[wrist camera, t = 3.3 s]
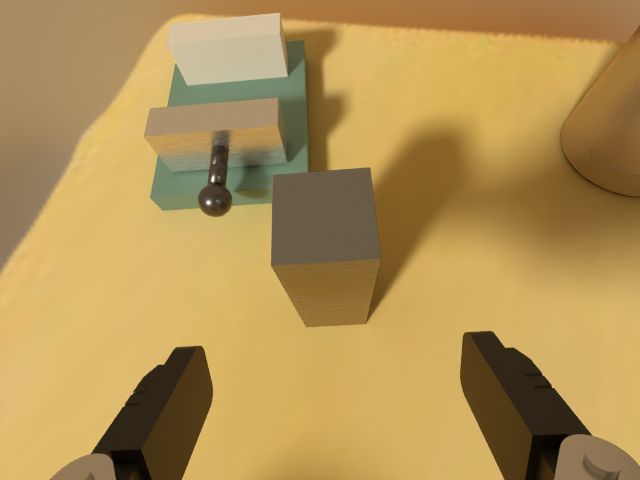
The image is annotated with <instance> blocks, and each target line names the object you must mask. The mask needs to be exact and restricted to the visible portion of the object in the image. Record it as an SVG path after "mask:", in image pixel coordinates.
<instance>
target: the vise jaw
mask: <svg viewBox="0 0 640 480" xmlns="http://www.w3.org/2000/svg"><path fill="white" fill-rule="evenodd" d="M144 137H145V139H146V140H147V141H148V142H149V144H150V145H151V146H152V148H153V149H154V150H155V152H156V153H157V154H158V155H159V157H160V158H161V159H162V161H163V162H164V163H165V164H166V166H167V167H168V168H169V170H170V171H171V172H177V171H190V170H203V169H209V176H208V185H206V186H205V187H203V188H202V190H201V191H200V193H199V195H198V204H199V207H200V209H201V210H202V211H203V212H204V213H205V214H207V215H209V216H212V217H219V216H222V215H224V214H226V213H227V212H228V211H229V210H230V208H231V206H232V195H231V193H230V191H229V190H228V189H227V188H226V180H227V168H229V167H242V166H255V165H268V164H281V163H287V134H286V130H285V125H284V121H283V117H282V112H281V108H280V104H279V99H278V97H277V98H265V99H254V100H242V101H231V102H219V103H208V104H196V105H184V106H173V107H161V108H150V111H149V116H148V120H147V125H146V130H145V134H144Z"/></svg>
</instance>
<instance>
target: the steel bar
mask: <svg viewBox="0 0 640 480" xmlns="http://www.w3.org/2000/svg"><path fill="white" fill-rule="evenodd" d="M380 262H381V254H380V245H379V237H378V229H377V220H376V212H375V204H374V195H373V187H372V179H371V170H370V168H357V169H344V170H330V171H317V172H304V173H291V174H277V175H273V198H272V249H271V266H272V268H273V270H274V272H275V273H276V275H277V277H278V279H279V280H280V282H281V284H282V286H283V287H284V289H285V291H286V293H287V294H288V296H289V298H290V300H291V301H292V303H293V305H294V307H295V308H296V310H297V312H298V313H299V315H300V317H301V319H302V320H303V322H304V324H305V326H306V327H318V326H337V325H355V324H366V321H367V316H368V312H369V308H370V304H371V300H372V295H373V291H374V287H375V283H376V278H377V274H378V270H379V266H380Z"/></svg>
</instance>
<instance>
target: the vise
mask: <svg viewBox="0 0 640 480" xmlns="http://www.w3.org/2000/svg"><path fill="white" fill-rule="evenodd" d="M166 45H167V47H168V48H169V50H170V52H171V54H172V56H173V58H174V60H175V62H176V63H175V68H174V74H173V79H172V84H171V90H170V95H169V100H168V106H167V107H173V106H184V105H196V104H208V103H219V102H231V101H242V100H254V99H265V98H277V97H278V99H279V104H280V108H281V112H282V117H283V121H284V125H285V130H286V134H287V163H281V164H268V165H255V166H242V167H229V168H227V180H226V188H227V189H228V190H229V191H230V193H231V195H232V206H234V205H248V204H262V203H272V198H273V175H277V174H291V173H304V172H310V166H309V136H308V105H307V75H306V55H305V47H304V41H294V42H285V39H284V33H283V27H282V22H281V16H280V13H274V14H264V15H253V16H243V17H233V18H223V19H213V20H202V21H192V22H182V23H172V24H171V25H170V30H169V34H168V39H167V44H166ZM208 176H209V169H203V170H190V171H177V172H171V171H170V170H169V168H168V167H167V166H166V164H165V163H164V162H163V161H162V159H161V158H160V157H159V155H158V159H157V164H156V170H155V175H154V180H153V186H152V191H151V196H150V198H151V199H152V200H153V201H154V202H155V203H156V204H157V205H158V206H159V207H160V208H161V209H162V210H163V211H164V210H178V209H192V208H200V207H199V204H198V195H199V193H200V191H201V190H202V188H203V187H205V186H206V185H208Z"/></svg>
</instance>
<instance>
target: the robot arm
mask: <svg viewBox="0 0 640 480" xmlns="http://www.w3.org/2000/svg"><path fill="white" fill-rule="evenodd" d="M561 144H562V149H563V151H564V153H565V155H566V157H567V159H568V160H569V162H570V163H571V164H572V166H573V167H574V168H575V169H576V170H577V171H578V172H579V173H580V174H582V175H583V176H584V177H585V178H587V179H588V180H590V181H591V182H593V183H594V184H596V185H598V186H600V187H602V188H605V189H607V190H609V191H612V192H615V193H619V194H622V195H628V196H635V197H640V26H639V27H638V29H637V30H636V31H635V33H634V34H633V35H632V36H631V38H630V39H629V40H628V42H627V43H626V44H625V45H624V47H623V48H622V49H621V50H620V52H619V53H618V54H617V56H616V57H615V58H614V59H613V61H612V62H611V63H610V65H609V66H608V67H607V68H606V70H605V71H604V72H603V73H602V75H601V76H600V77H599V78H598V80H597V81H596V82H595V83H594V85H593V86H592V87H591V89H590V90H589V91H588V92H587V94H586V95H585V96H584V98H583V99H582V100H581V101H580V103H579V104H578V105H577V107H576V108H575V109H574V110H573V112H572V113H571V114H570V116H569V117H568V118H567V119H566V121H565V122H564V125H563V127H562V129H561ZM460 379H461V385H462V389H463V393H464V395H465V397H466V400H467V402H468V404H469V406H470V408H471V410H472V412H473V414H474V416H475V419H476V421H477V423H478V425H479V427H480V429H481V431H482V433H483V435H484V437H485V440H486V442H487V444H488V446H489V448H490V450H491V452H492V454H493V456H494V458H495V461H496V463H497V465H498V467H499V469H500V471H501V473H502V475H503V477H504V479H505V480H640V466H639V465H638V464H637V462H636V461H635V460H634V459H633V458H632V457H631V456H630V455H628V454H627V453H626V452H625V451H623V450H622V449H620V448H619V447H617V446H616V445H614V444H612V443H610V442H608V441H606V440H603V439H601V438H598V437H594V436H592V435H591V433H590V432H589V431H588V430H587V428H586V427H585V426H584V425H583V423H582V422H581V421H580V420H579V419H578V417H577V416H576V415H575V414H574V412H573V411H572V410H571V409H570V407H569V406H568V405H567V404H566V402H565V401H564V400H563V399H562V397H561V396H560V395H559V394H558V393H557V391H556V390H555V389H554V388H552V385H551V384H550V383H549V381H548V380H547V379H546V378H545V376H542V373H541V371H540V370H539V369H538V368H537V367H536V365H535V364H534V363H533V362H532V360H531V359H530V358H528V357H527V356H525V355H524V354H522V353H521V352H519V351H518V350H516V349H515V348H505V347H504V346H503V344H502V343H501V342H500V340H499V339H498V338H497V336H496V335H495V334H494V333H493V332H492V331H481V332H465V333H464V335H463V342H462V356H461V369H460ZM212 397H213V386H212V381H211V377H210V372H209V368H208V364H207V360H206V355H205V351H204V349H203V347H202V346H189V347H176V348H175V349H174V350H173V352H172V353H171V355H170V356H169V358H168V359H167V361H166V363H165V364H164V365H158V366H156V367H155V368H154V369H153V370H152V371H150V372H149V373H148V374H147V375H146V376H144V377H143V379H142V380H141V381H140V383H139V384H138V386H137V387H136V389H135V390H134V392H133V395H131V396H130V397H129V399H128V400H127V402H126V403H125V407H123V408H122V409H121V411H120V412H119V414H118V415H117V416H116V418H115V419H114V421H113V422H112V424H111V425H110V427H109V428H108V430H107V431H106V432H105V434H104V435H103V437H102V438H101V440H100V441H99V443H98V444H97V446H96V447H95V448H94V450H93V451H92V453H91V454H90V455H86V456H83V457H81V458H78V459H76V460H74V461H73V462H71V463H69V464H68V465H66V466H65V467H63V468H62V469H61V470H59V471H58V472H57V473H56V474H55V475H54V476H53V477H52V478H51V479H50V480H182V478H183V475H184V473H185V470H186V467H187V465H188V462H189V460H190V457H191V455H192V452H193V450H194V447H195V445H196V442H197V440H198V437H199V434H200V432H201V429H202V427H203V424H204V422H205V419H206V417H207V414H208V412H209V409H210V406H211V403H212Z"/></svg>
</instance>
